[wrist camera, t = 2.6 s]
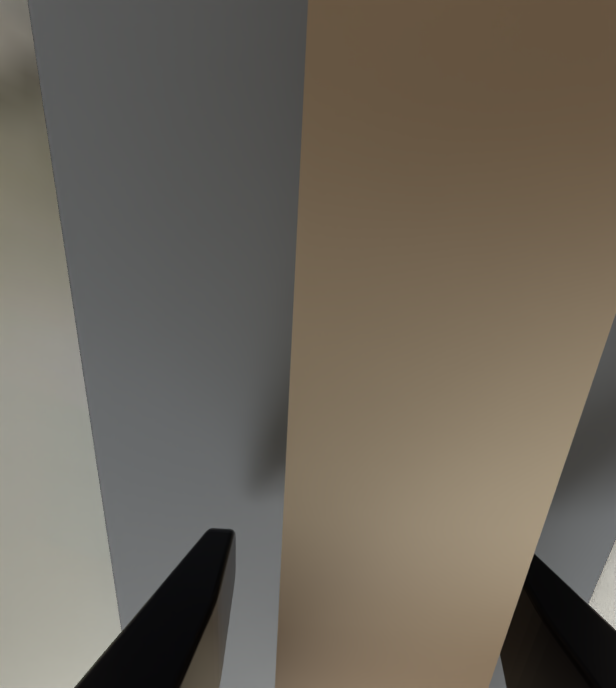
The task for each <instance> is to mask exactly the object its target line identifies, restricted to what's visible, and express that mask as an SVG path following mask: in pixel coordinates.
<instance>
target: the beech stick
mask: <svg viewBox="0 0 616 688" xmlns="http://www.w3.org/2000/svg"><path fill="white" fill-rule="evenodd" d="M615 314H616V0H308V14H307V34H306V55H305V76H304V96H303V117H302V137H301V158H300V179H299V199H298V220H297V241H296V261H295V282H294V302H293V323H292V344H291V364H290V385H289V406H288V426H287V447H286V467H285V488H284V509H283V529H282V550H281V571H280V591H279V612H278V632H277V653H276V674H275V688H488V687H489V684H490V681H491V679H492V676H493V673H494V670H495V667H496V664H497V661H498V658H499V655H500V652H501V649H502V646H503V643H504V640H505V637H506V634H507V632H508V629H509V626H510V623H511V620H512V617H513V614H514V611H515V608H516V605H517V602H518V599H519V596H520V593H521V590H522V587H523V585H524V582H525V579H526V576H527V573H528V570H529V567H530V564H531V561H532V558H533V555H534V552H535V549H536V546H537V543H538V540H539V538H540V535H541V532H542V529H543V526H544V523H545V520H546V517H547V514H548V511H549V508H550V505H551V502H552V499H553V496H554V493H555V491H556V488H557V485H558V482H559V479H560V476H561V473H562V470H563V467H564V464H565V461H566V458H567V455H568V452H569V449H570V446H571V444H572V441H573V438H574V435H575V432H576V429H577V426H578V423H579V420H580V417H581V414H582V411H583V408H584V405H585V402H586V399H587V397H588V394H589V391H590V388H591V385H592V382H593V379H594V376H595V373H596V370H597V367H598V364H599V361H600V358H601V355H602V352H603V350H604V347H605V344H606V341H607V338H608V335H609V332H610V329H611V326H612V323H613V320H614V317H615Z"/></svg>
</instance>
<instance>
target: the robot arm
mask: <svg viewBox="0 0 616 688" xmlns="http://www.w3.org/2000/svg"><path fill="white" fill-rule="evenodd" d="M235 574H236V534H235V531H234V530H232V529H223V528H210V529H208V530H207V531H206V532H205V533H204V534H203V535H202V537H201V538H200V539H199V540H198V541H197V543H196V544H195V545H194V546H193V547H192V549H191V550H190V551H189V552H188V553H187V554H186V556H185V557H184V558H183V559H182V560H181V562H180V563H179V564H178V565H177V566H176V568H175V569H174V570H173V571H172V572H171V573H170V575H169V576H168V577H167V578H166V579H165V581H164V582H163V583H162V584H161V585H160V587H159V588H158V589H157V590H156V591H155V592H154V594H153V595H152V596H151V597H150V598H149V600H148V601H147V602H146V603H145V604H144V606H143V607H142V608H141V609H140V610H139V611H138V613H137V614H136V615H135V616H134V617H133V619H132V620H131V621H130V622H129V623H128V625H127V626H126V627H125V628H124V629H123V630H122V632H121V633H120V634H119V635H118V636H117V638H116V639H115V640H114V641H113V642H112V644H111V645H110V646H109V647H108V648H107V649H106V651H105V652H104V653H103V654H102V655H101V657H100V658H99V659H98V660H97V661H96V663H95V664H94V665H93V666H92V667H91V668H90V670H89V671H88V672H87V673H86V674H85V676H84V677H83V678H82V679H81V680H80V682H79V683H78V684H77V685H76V686H75V687H74V688H219V687H220V681H221V675H222V669H223V662H224V655H225V648H226V641H227V634H228V627H229V619H230V612H231V605H232V598H233V591H234V583H235ZM500 658H501V663H502V668H503V673H504V678H505V683H506V688H616V630H615V629H614V628H613V627H612V626H611V625H610V624H609V623H608V622H607V621H606V620H605V619H603V618H602V617H601V616H600V615H599V614H598V613H597V612H596V611H595V610H594V609H593V608H592V607H591V606H590V605H589V604H588V603H586V602H585V601H584V600H583V599H582V598H581V597H580V596H579V595H578V594H577V593H576V592H575V591H574V590H573V589H572V588H571V587H570V586H568V585H567V584H566V583H565V582H564V581H563V580H562V579H561V578H560V577H559V576H558V575H557V574H556V573H555V572H554V571H553V570H552V569H550V568H549V567H548V566H547V565H546V564H545V563H544V562H543V561H542V560H541V559H540V558H539V557H538V556H537V555H536V554H535V553H534V555H533V558H532V561H531V564H530V567H529V570H528V573H527V576H526V579H525V582H524V585H523V587H522V590H521V593H520V596H519V599H518V602H517V605H516V608H515V611H514V614H513V617H512V620H511V623H510V626H509V629H508V632H507V634H506V637H505V640H504V643H503V646H502V649H501V652H500Z"/></svg>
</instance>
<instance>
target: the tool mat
mask: <svg viewBox="0 0 616 688" xmlns="http://www.w3.org/2000/svg"><path fill="white" fill-rule="evenodd" d="M28 7H29V13H30V20H31V27H32V34H33V40H34V47H35V54H36V60H37V67H38V74H39V80H40V87H41V94H42V101H43V107H44V114H45V121H46V127H47V134H48V141H49V147H50V154H51V161H52V168H53V174H54V181H55V188H56V194H57V201H58V208H59V214H60V221H61V228H62V234H63V241H64V248H65V255H66V261H67V268H68V275H69V281H70V288H71V295H72V301H73V308H74V315H75V322H76V328H77V335H78V342H79V348H80V355H81V362H82V368H83V375H84V382H85V389H86V395H87V402H88V409H89V415H90V422H91V429H92V435H93V442H94V449H95V456H96V462H97V469H98V476H99V482H100V489H101V496H102V502H103V509H104V516H105V523H106V529H107V536H108V543H109V549H110V556H111V563H112V569H113V576H114V583H115V590H116V596H117V603H118V610H119V616H120V623H121V630H123V629H124V628H125V627H126V626H127V625H128V623H129V622H130V621H131V620H132V619H133V617H134V616H135V615H136V614H137V613H138V611H139V610H140V609H141V608H142V607H143V606H144V604H145V603H146V602H147V601H148V600H149V598H150V597H151V596H152V595H153V594H154V592H155V591H156V590H157V589H158V588H159V587H160V585H161V584H162V583H163V582H164V581H165V579H166V578H167V577H168V576H169V575H170V573H171V572H172V571H173V570H174V569H175V568H176V566H177V565H178V564H179V563H180V562H181V560H182V559H183V558H184V557H185V556H186V554H187V553H188V552H189V551H190V550H191V549H192V547H193V546H194V545H195V544H196V543H197V541H198V540H199V539H200V538H201V537H202V535H203V534H204V533H205V532H206V531H207V530H208V529H210V528H223V529H232V530H234V531H235V534H236V574H235V583H234V591H233V598H232V605H231V612H230V619H229V627H228V634H227V641H226V648H225V655H224V662H223V669H222V675H221V681H220V687H219V688H275V674H276V653H277V632H278V612H279V591H280V571H281V550H282V529H283V509H284V488H285V467H286V447H287V426H288V406H289V385H290V364H291V344H292V323H293V302H294V282H295V261H296V241H297V220H298V199H299V179H300V158H301V137H302V117H303V96H304V76H305V55H306V34H307V14H308V0H28ZM615 540H616V314H615V317H614V320H613V323H612V326H611V329H610V332H609V335H608V338H607V341H606V344H605V347H604V350H603V352H602V355H601V358H600V361H599V364H598V367H597V370H596V373H595V376H594V379H593V382H592V385H591V388H590V391H589V394H588V397H587V399H586V402H585V405H584V408H583V411H582V414H581V417H580V420H579V423H578V426H577V429H576V432H575V435H574V438H573V441H572V444H571V446H570V449H569V452H568V455H567V458H566V461H565V464H564V467H563V470H562V473H561V476H560V479H559V482H558V485H557V488H556V491H555V493H554V496H553V499H552V502H551V505H550V508H549V511H548V514H547V517H546V520H545V523H544V526H543V529H542V532H541V535H540V538H539V540H538V543H537V546H536V549H535V552H534V553H535V554H536V555H537V556H538V557H539V558H540V559H541V560H542V561H543V562H544V563H545V564H546V565H547V566H548V567H549V568H550V569H552V570H553V571H554V572H555V573H556V574H557V575H558V576H559V577H560V578H561V579H562V580H563V581H564V582H565V583H566V584H567V585H568V586H570V587H571V588H572V589H573V590H574V591H575V592H576V593H577V594H578V595H579V596H580V597H581V598H582V599H583V600H584V601H585V602H586V603H589V601H590V598H591V596H592V594H593V591H594V589H595V587H596V584H597V582H598V580H599V577H600V575H601V573H602V570H603V568H604V565H605V563H606V561H607V558H608V556H609V554H610V551H611V549H612V547H613V544H614V542H615ZM488 688H506V683H505V678H504V673H503V668H502V663H501V658H500V655H499V658H498V661H497V664H496V667H495V670H494V673H493V676H492V679H491V681H490V684H489V687H488Z"/></svg>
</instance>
